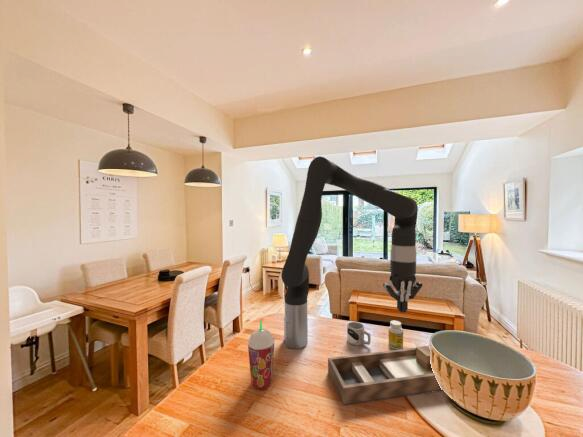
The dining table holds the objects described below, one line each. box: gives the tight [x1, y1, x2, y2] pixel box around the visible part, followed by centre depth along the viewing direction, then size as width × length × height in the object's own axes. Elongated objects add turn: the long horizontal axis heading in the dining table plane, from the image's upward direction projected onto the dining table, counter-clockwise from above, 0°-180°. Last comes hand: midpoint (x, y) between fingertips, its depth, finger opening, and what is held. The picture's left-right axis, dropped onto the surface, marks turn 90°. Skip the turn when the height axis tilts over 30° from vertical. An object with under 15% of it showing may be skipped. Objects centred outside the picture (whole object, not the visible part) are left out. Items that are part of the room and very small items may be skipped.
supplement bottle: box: [388, 319, 404, 350], centre depth 97 cm, size 5×5×10 cm
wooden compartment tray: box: [327, 347, 442, 406], centre depth 78 cm, size 36×14×5 cm, turn 99°
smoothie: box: [247, 320, 276, 390], centre depth 78 cm, size 8×8×20 cm
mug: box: [346, 321, 372, 347], centre depth 100 cm, size 10×7×7 cm, turn 42°
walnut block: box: [415, 345, 432, 371], centre depth 81 cm, size 5×5×5 cm
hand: (402, 311), depth 80 cm, fingers closed
